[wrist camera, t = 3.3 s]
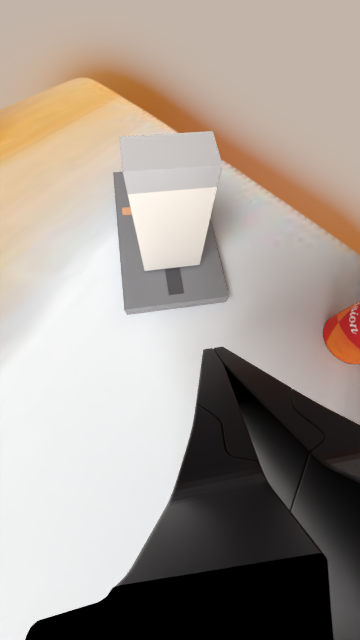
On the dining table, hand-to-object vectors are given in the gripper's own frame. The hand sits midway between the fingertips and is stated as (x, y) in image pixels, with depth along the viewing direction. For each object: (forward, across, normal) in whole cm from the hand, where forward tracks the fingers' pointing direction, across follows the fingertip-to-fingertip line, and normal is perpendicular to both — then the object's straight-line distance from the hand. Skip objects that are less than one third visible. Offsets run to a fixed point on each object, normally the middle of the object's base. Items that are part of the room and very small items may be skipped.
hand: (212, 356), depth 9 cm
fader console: (+21, 0, -3) cm, 21 cm away
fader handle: (+17, 0, -1) cm, 17 cm away
